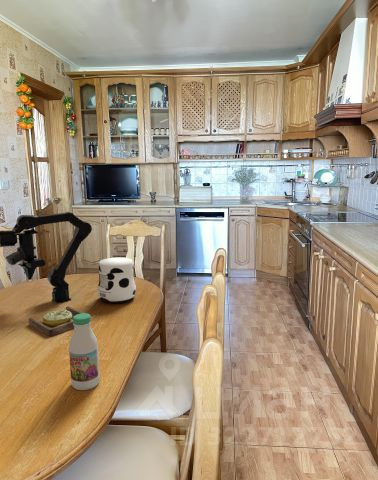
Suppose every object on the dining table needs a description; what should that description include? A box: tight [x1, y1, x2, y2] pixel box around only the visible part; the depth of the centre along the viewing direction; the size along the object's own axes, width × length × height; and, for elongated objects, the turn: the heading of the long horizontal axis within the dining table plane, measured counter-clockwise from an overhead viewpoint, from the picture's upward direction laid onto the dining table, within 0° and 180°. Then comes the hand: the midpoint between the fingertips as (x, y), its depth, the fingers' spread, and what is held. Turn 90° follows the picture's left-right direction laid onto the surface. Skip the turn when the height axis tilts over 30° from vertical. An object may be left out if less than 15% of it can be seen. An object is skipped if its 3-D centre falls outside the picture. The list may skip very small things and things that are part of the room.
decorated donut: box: [42, 309, 73, 327], centre depth 144 cm, size 10×11×4 cm
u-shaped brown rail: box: [28, 305, 83, 338], centre depth 142 cm, size 17×16×2 cm
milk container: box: [97, 257, 137, 304], centre depth 167 cm, size 17×17×18 cm
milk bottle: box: [68, 312, 101, 391], centre depth 100 cm, size 8×8×20 cm
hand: (29, 279), depth 159 cm, fingers closed
